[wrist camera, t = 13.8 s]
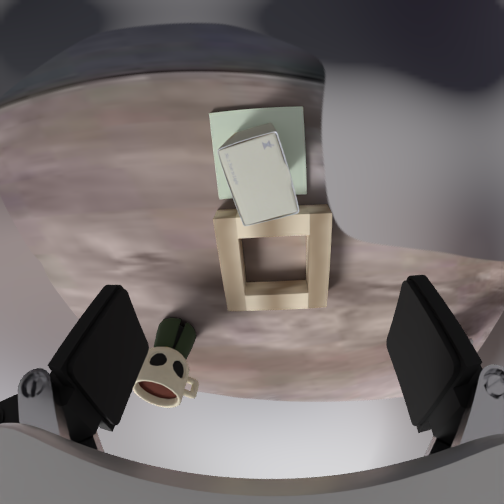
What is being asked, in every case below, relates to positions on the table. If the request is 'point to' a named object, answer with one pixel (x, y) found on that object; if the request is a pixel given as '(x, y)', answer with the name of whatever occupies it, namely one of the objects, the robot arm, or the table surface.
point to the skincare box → (258, 175)
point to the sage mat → (282, 118)
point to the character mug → (167, 366)
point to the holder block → (275, 292)
